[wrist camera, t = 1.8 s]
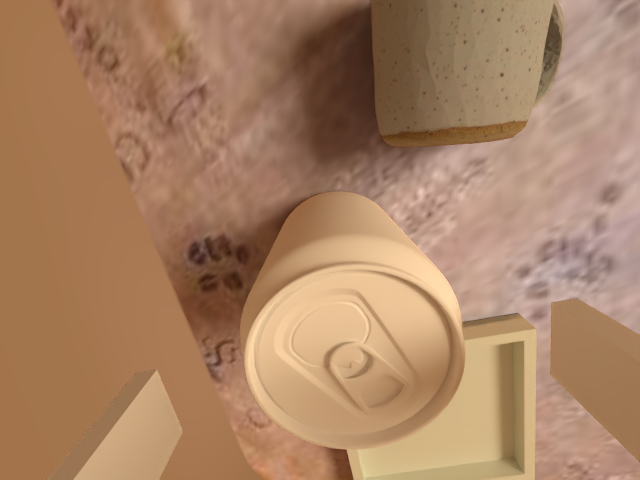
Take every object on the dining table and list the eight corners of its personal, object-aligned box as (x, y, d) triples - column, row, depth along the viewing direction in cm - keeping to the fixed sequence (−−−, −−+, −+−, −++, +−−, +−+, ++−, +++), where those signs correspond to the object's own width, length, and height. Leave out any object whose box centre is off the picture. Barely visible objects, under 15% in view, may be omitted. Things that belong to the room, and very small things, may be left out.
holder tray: (325, 345, 24) (326, 362, 22) (518, 313, 23) (536, 328, 21) (356, 478, 28) (359, 502, 26) (519, 455, 27) (534, 479, 25)
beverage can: (345, 163, 20) (379, 189, 8) (418, 254, 21) (529, 381, 10) (255, 240, 21) (175, 354, 10) (329, 319, 23) (336, 493, 11)
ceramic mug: (366, 150, 19) (397, 153, 12) (358, -3, 17) (390, -118, 9) (535, 131, 19) (672, 123, 12) (551, -27, 17) (737, -162, 9)
